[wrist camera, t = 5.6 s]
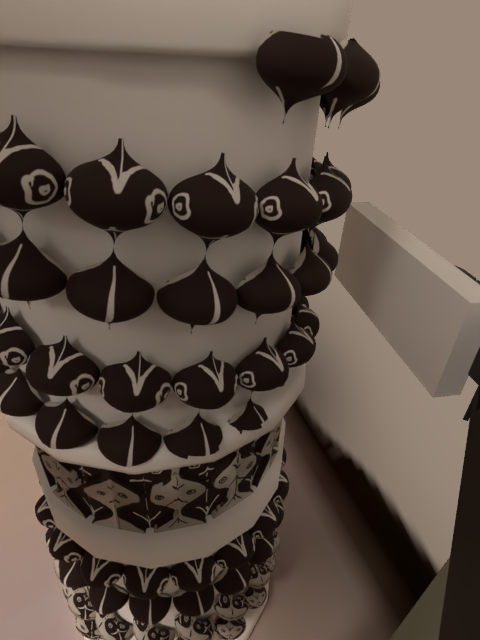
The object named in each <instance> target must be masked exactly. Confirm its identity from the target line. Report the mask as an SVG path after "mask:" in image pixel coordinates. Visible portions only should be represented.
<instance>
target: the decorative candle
mask: <svg viewBox="0 0 480 640" xmlns="http://www.w3.org/2000/svg"><path fill="white" fill-rule="evenodd" d="M352 2H353V0H0V411H1V412H2V413H4V414H5V415H6V418H7V421H8V424H9V426H10V428H11V429H12V430H14V431H15V432H17V433H18V434H20V435H21V436H23V437H24V438H26V439H27V440H29V441H30V442H32V443H33V444H34V445H35V449H34V454H33V463H34V466H35V469H36V472H37V475H38V478H39V483H40V485H41V487H42V490H43V492H44V495H43V496H42V497H41V498H40V499H39V500H38V502H37V504H36V506H35V513H36V517H37V519H38V521H39V522H40V523H41V524H42V525H43V526H45V527H47V528H49V529H48V531H47V533H46V543H47V545H48V547H49V552H50V553H51V555H52V556H53V557H54V558H55V561H54V567H55V572H56V575H57V577H58V578H59V580H60V581H61V583H62V585H63V592H64V595H65V598H66V599H67V601H68V607H69V609H70V610H71V612H72V613H73V614H74V615H75V616H76V628H77V629H78V631H79V632H80V633H81V634H82V635H83V636H84V639H85V640H248V638H249V636H250V634H251V632H252V630H253V628H254V626H255V624H256V622H257V621H258V619H259V617H260V615H261V613H262V611H263V609H264V607H265V605H266V603H267V599H268V589H269V579H270V575H271V573H272V572H273V570H274V568H275V565H276V560H275V556H274V555H273V553H274V552H276V551H277V549H278V547H279V545H280V538H279V535H278V533H277V532H276V531H275V528H277V527H278V526H279V525H280V524H281V522H282V519H283V515H284V509H283V505H282V503H281V501H283V500H284V499H285V497H286V495H287V493H288V489H289V481H288V478H287V475H286V474H285V472H284V471H283V470H282V469H281V468H282V467H283V466H284V465H285V462H286V451H285V449H284V447H283V445H284V435H285V424H286V422H285V420H284V415H285V414H286V413H287V411H288V410H289V408H290V407H291V406H292V404H293V403H294V402H295V400H296V399H297V398H298V396H299V395H300V394H301V392H302V391H303V390H304V384H305V374H306V362H307V361H309V360H310V358H311V357H312V356H313V354H314V351H315V347H316V343H315V339H314V337H315V336H316V334H317V333H318V330H319V319H318V317H317V315H316V314H315V313H314V312H313V311H312V310H311V309H309V304H308V300H307V298H306V297H305V296H309V295H314V294H317V293H320V292H321V291H323V290H324V289H326V288H327V286H328V285H329V284H330V282H331V279H332V271H333V270H334V269H335V268H336V266H337V264H338V253H337V251H336V249H335V248H334V247H333V246H332V245H331V244H330V243H329V242H327V239H326V237H325V236H324V234H323V233H322V232H321V231H319V230H318V229H317V228H315V226H317V225H319V224H321V223H324V222H327V221H330V220H333V219H335V218H338V217H339V216H341V215H342V214H344V213H345V212H346V211H347V210H348V208H349V207H350V204H351V201H352V191H351V183H350V180H349V179H348V177H347V176H346V175H345V174H344V173H343V172H341V171H340V170H338V169H337V168H336V167H334V166H333V165H332V164H331V162H330V161H329V158H328V152H327V155H326V156H325V157H324V161H323V164H321V163H320V162H318V161H317V160H316V159H314V158H313V150H314V143H315V135H316V128H317V120H318V113H319V106H320V107H321V108H322V110H323V112H324V114H325V118H326V122H327V119H328V117H329V116H330V122H331V120H332V118H333V116H334V115H335V114H336V113H337V112H339V111H340V110H341V117H340V122H341V120H342V118H343V117H344V116H345V115H346V114H347V113H349V112H350V111H352V110H354V109H356V108H358V107H360V106H363V105H365V104H366V103H368V102H370V101H371V100H372V99H374V97H375V96H376V95H377V93H378V91H379V88H380V69H379V67H378V64H377V63H376V62H375V60H374V59H373V58H372V57H371V56H370V55H369V54H368V53H367V52H366V51H365V50H364V49H363V48H362V47H361V46H360V45H359V44H358V43H357V41H356V40H355V39H354V38H353V39H350V40H347V35H348V29H349V22H350V16H351V9H352ZM325 127H326V126H325ZM328 128H329V126H328Z"/></svg>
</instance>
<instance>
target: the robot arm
mask: <svg viewBox="0 0 480 640" xmlns="http://www.w3.org/2000/svg"><path fill="white" fill-rule="evenodd" d="M335 276H336V277H337V278H338V280H339V281H340V282H341V283H342V285H343V286H344V287H345V288H346V290H347V291H348V292H349V293H350V295H351V296H352V297H353V298H354V300H355V301H356V302H357V303H358V305H359V306H360V307H361V308H362V310H363V311H364V312H365V313H366V315H367V316H368V317H369V318H370V320H371V321H372V322H373V323H374V324H375V326H376V327H377V328H378V330H379V331H380V332H381V333H382V335H383V336H384V337H385V338H386V339H387V341H388V342H389V343H390V344H391V346H392V347H393V348H394V349H395V351H396V352H397V353H398V354H399V356H400V357H401V358H402V359H403V360H404V362H405V363H406V364H407V366H408V367H409V368H410V369H411V371H412V372H413V373H414V374H415V376H416V377H417V378H418V379H419V381H420V382H421V383H422V384H423V386H424V387H425V388H426V389H427V390H428V392H429V393H430V394H431V396H432V397H441V396H449V395H459V394H460V393H461V391H462V389H463V387H464V384H465V382H466V380H467V378H468V376H470V377H471V378H472V379H473V380H474V381H475V382H476V383H477V384H478V385H479V386H478V388H477V390H476V392H475V395H474V397H473V399H472V401H471V403H470V405H469V407H468V409H467V411H466V414H465V416H464V418H463V420H466V421H468V420H469V418H470V422H469V429H468V437H467V443H466V450H465V457H464V465H463V471H462V478H461V485H460V492H459V499H458V506H457V513H456V520H455V527H454V534H453V541H452V548H451V555H450V562H449V569H448V576H447V583H446V589H445V596H444V603H443V610H442V617H441V624H440V631H439V638H438V640H480V281H479V280H476V278H475V277H473V276H472V275H471V274H469V273H468V272H467V271H465V270H464V269H461V268H459V267H457V266H455V265H452V264H451V263H450V262H448V261H447V260H446V259H444V258H443V257H442V256H440V255H439V254H438V253H436V252H435V251H433V250H432V249H431V248H429V247H428V246H427V245H425V244H424V243H423V242H422V241H420V240H419V239H418V238H416V237H415V236H414V235H412V234H411V233H410V232H408V231H407V230H405V229H404V228H403V227H401V226H400V225H399V224H397V223H396V222H395V221H393V220H392V219H391V218H389V217H388V216H387V215H385V214H384V213H383V212H381V211H380V210H379V209H377V208H376V207H375V206H373V205H372V204H371V203H369V202H365V203H364V202H363V203H362V202H361V203H351V204H350V207H349V208H348V210H347V212H346V217H345V223H344V228H343V233H342V238H341V244H340V249H339V254H338V264H337V266H336V270H335Z"/></svg>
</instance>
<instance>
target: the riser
mask: <svg viewBox="0 0 480 640" xmlns="http://www.w3.org/2000/svg"><path fill="white" fill-rule="evenodd" d="M449 562H450V558H449V559H448V560H447V562H446V563H445V564H444V566H443V567H442V569H441V570H440V571H439V573H438V574H437V575H436V577H435V578H434V579H433V581H432V582H431V584H430V585H429V586H428V588H427V589H426V590H425V592H424V593H423V594H422V596H421V597H420V599H419V600H418V601H417V603H416V604H415V605H414V607H413V608H412V609H411V611H410V612H409V614H408V615H407V616H406V618H405V619H404V620H403V622H402V623H401V624H400V626H399V627H398V629H397V630H396V631H395V633H394V634H393V635H392V637H391V638H390V639H389V640H438V638H439V631H440V624H441V617H442V610H443V603H444V596H445V589H446V583H447V576H448V569H449Z"/></svg>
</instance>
